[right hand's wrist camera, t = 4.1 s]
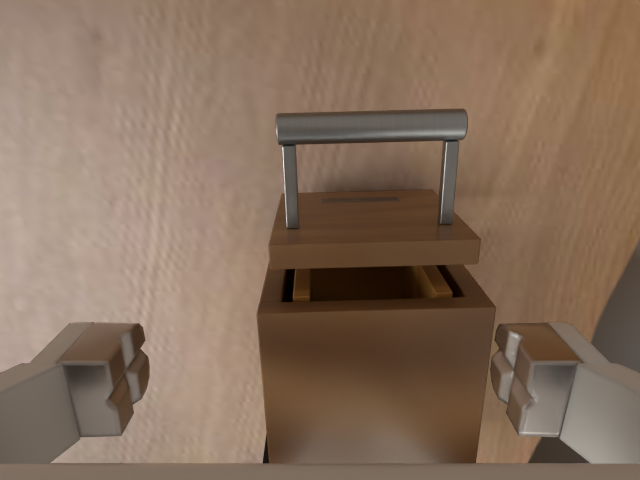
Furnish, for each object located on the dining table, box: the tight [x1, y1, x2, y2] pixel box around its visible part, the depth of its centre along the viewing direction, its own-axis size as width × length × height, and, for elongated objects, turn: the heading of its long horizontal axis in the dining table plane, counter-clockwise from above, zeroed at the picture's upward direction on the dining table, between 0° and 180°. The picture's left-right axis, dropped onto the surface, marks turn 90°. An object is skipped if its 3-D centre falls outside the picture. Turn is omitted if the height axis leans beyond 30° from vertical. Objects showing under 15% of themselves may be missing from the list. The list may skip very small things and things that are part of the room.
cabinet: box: [257, 261, 496, 463], centre depth 28 cm, size 17×10×11 cm, turn 1°
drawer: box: [268, 109, 481, 302], centre depth 25 cm, size 21×9×9 cm, turn 1°
